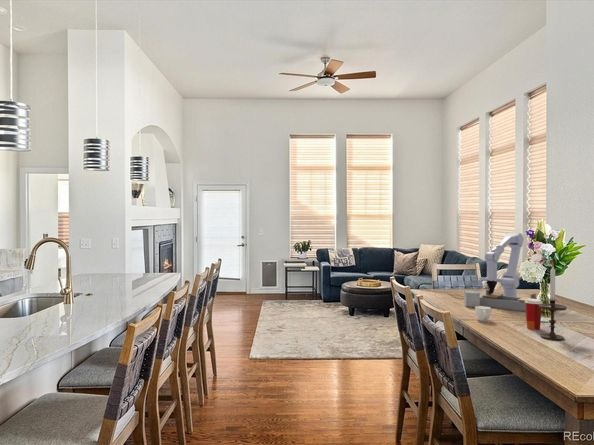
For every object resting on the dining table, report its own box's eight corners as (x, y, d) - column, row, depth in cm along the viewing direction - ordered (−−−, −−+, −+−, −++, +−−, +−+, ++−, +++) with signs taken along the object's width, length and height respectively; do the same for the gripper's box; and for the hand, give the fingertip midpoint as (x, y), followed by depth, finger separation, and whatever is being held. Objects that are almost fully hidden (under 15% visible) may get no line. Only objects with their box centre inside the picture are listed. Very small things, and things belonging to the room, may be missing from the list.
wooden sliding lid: (490, 293, 289) (490, 288, 289) (503, 295, 283) (503, 289, 283) (481, 297, 277) (482, 290, 277) (495, 298, 272) (495, 292, 272)
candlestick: (533, 334, 208) (534, 258, 208) (558, 335, 208) (558, 258, 207) (546, 341, 197) (546, 260, 197) (571, 341, 197) (572, 260, 196)
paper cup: (540, 327, 222) (541, 299, 222) (543, 331, 214) (544, 301, 214) (523, 326, 224) (523, 298, 224) (525, 329, 217) (525, 300, 217)
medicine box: (477, 305, 277) (477, 291, 277) (479, 307, 272) (479, 292, 272) (464, 305, 277) (464, 291, 277) (466, 307, 273) (466, 292, 273)
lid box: (484, 301, 291) (484, 293, 291) (539, 308, 270) (539, 299, 270) (475, 304, 279) (475, 296, 279) (532, 312, 258) (532, 303, 258)
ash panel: (525, 297, 275) (525, 291, 275) (539, 299, 270) (539, 293, 270) (517, 301, 264) (517, 294, 264) (532, 302, 258) (532, 296, 258)
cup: (489, 319, 240) (489, 306, 240) (493, 323, 230) (493, 310, 230) (474, 318, 242) (474, 305, 242) (476, 322, 232) (476, 309, 232)
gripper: (477, 270, 282) (477, 292, 282) (502, 272, 273) (502, 295, 273) (481, 270, 288) (481, 291, 288) (505, 271, 278) (505, 294, 278)
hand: (491, 293), depth 281 cm, fingers closed
